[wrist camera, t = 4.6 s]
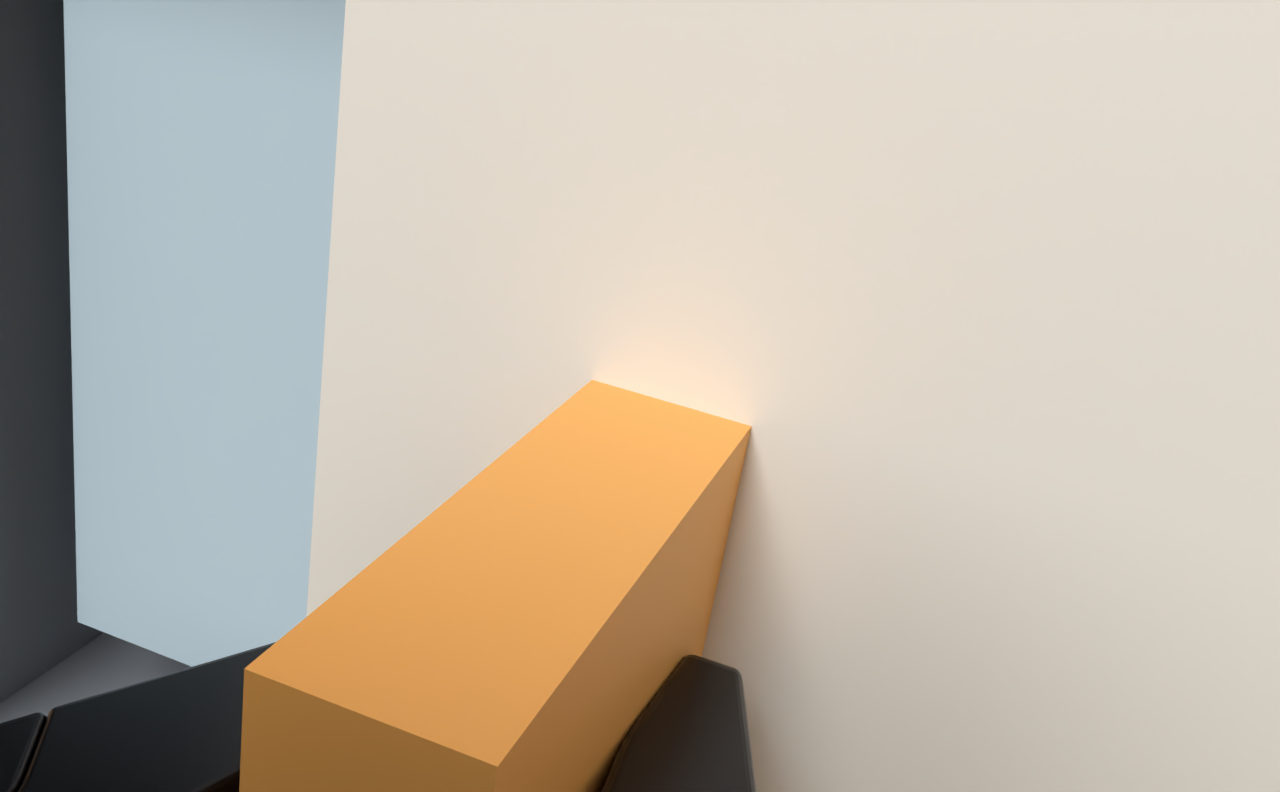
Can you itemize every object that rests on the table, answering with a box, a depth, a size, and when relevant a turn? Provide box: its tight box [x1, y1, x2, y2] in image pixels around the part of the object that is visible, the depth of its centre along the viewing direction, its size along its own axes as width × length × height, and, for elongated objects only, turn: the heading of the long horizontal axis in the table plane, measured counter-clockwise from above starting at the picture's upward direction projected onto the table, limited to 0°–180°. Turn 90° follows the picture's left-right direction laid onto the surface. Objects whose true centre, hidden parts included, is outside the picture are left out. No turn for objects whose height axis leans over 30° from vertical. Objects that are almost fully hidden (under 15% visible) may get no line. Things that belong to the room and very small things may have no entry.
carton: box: [0, 0, 346, 723], centre depth 14 cm, size 14×10×5 cm
